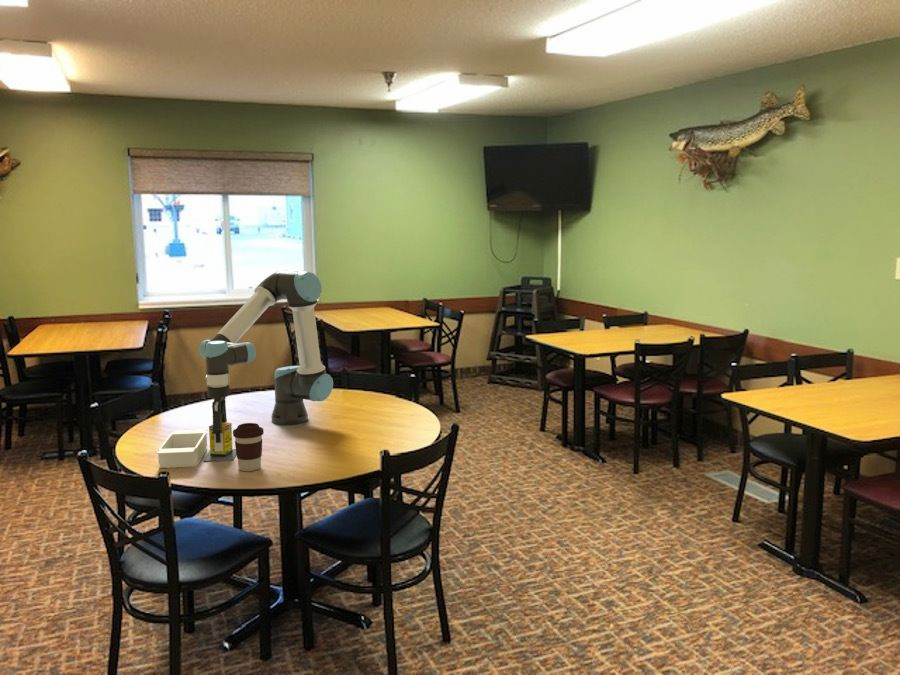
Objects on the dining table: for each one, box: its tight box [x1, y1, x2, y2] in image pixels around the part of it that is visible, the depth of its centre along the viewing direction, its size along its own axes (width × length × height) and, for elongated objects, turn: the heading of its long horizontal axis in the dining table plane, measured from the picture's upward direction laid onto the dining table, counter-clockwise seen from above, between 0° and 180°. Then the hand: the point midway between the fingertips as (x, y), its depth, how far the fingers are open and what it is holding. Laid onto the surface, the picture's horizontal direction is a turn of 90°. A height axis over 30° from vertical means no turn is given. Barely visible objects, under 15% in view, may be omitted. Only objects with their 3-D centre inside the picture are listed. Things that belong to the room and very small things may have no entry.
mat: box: [203, 448, 237, 463], centre depth 249 cm, size 10×12×1 cm
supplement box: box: [208, 422, 234, 456], centre depth 248 cm, size 6×6×11 cm
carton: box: [156, 428, 208, 469], centre depth 245 cm, size 13×27×6 cm, turn 10°
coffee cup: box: [232, 422, 265, 472], centre depth 235 cm, size 10×10×15 cm
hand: (221, 447), depth 248 cm, fingers open, 8 cm apart
